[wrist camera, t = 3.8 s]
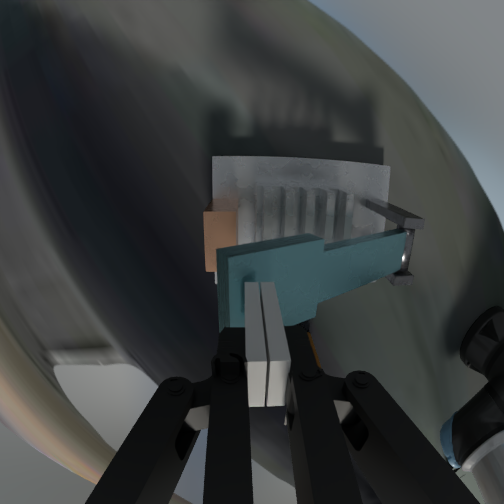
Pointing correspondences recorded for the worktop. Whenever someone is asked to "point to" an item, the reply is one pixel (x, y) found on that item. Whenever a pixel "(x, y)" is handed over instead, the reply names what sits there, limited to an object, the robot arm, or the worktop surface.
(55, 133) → the worktop surface
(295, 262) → the lever
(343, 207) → the heatsink base
